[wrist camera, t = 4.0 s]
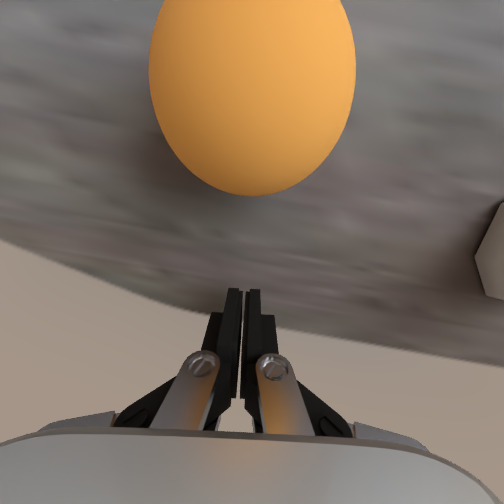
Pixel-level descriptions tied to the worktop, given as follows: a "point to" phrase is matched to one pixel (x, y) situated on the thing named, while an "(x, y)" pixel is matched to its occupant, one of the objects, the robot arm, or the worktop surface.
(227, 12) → the ball
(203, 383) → the robot arm
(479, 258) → the flask
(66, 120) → the worktop surface
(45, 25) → the worktop surface
